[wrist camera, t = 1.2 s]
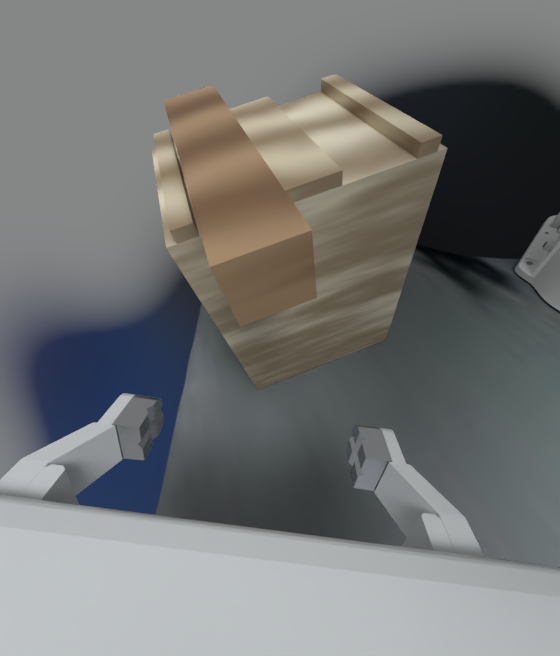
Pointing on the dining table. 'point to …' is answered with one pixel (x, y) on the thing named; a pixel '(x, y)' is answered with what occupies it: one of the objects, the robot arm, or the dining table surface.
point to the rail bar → (241, 211)
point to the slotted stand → (319, 222)
